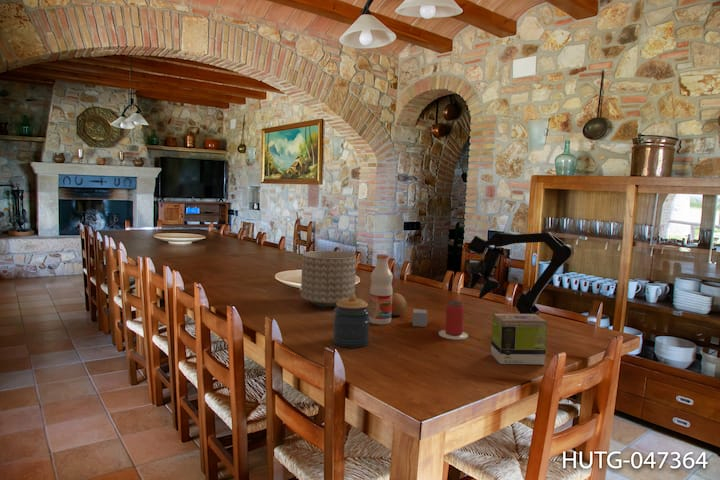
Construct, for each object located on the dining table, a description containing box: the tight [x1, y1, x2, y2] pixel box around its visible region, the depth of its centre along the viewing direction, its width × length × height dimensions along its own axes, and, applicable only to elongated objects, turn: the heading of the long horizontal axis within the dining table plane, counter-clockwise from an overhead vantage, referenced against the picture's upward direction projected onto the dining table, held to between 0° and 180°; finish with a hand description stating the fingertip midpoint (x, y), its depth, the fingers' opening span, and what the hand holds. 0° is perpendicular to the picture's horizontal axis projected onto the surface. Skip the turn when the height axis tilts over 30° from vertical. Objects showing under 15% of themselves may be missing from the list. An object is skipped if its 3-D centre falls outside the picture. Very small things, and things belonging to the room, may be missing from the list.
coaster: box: [438, 329, 469, 341], centre depth 181 cm, size 11×11×1 cm
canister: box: [332, 293, 371, 349], centre depth 167 cm, size 13×13×18 cm
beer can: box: [444, 301, 465, 336], centre depth 180 cm, size 7×7×12 cm
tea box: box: [490, 312, 548, 366], centre depth 156 cm, size 15×10×15 cm, turn 92°
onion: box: [391, 292, 408, 317], centre depth 206 cm, size 10×10×10 cm
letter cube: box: [412, 308, 428, 328], centre depth 194 cm, size 6×6×6 cm
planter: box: [300, 250, 357, 309], centre depth 220 cm, size 25×25×24 cm
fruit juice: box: [368, 254, 394, 326], centre depth 195 cm, size 9×9×28 cm
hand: (475, 293), depth 201 cm, fingers open, 9 cm apart
